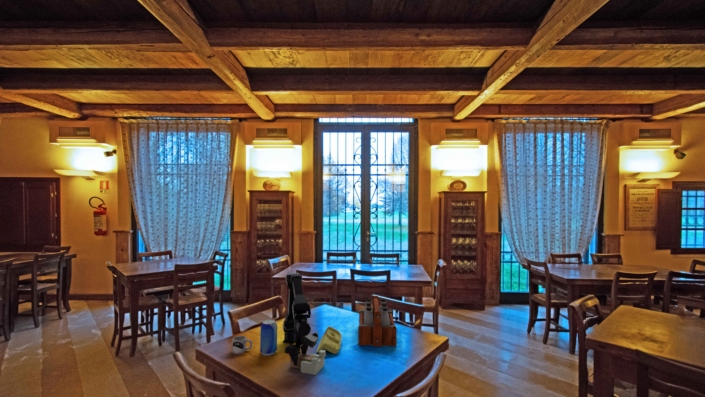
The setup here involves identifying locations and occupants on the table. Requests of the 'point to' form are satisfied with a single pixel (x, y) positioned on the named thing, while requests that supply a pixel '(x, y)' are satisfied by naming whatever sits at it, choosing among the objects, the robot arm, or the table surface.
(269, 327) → the beer can
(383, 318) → the milk bottle holder
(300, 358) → the rail
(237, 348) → the mug
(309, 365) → the posts
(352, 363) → the table surface
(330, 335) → the plastic component
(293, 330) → the robot arm
